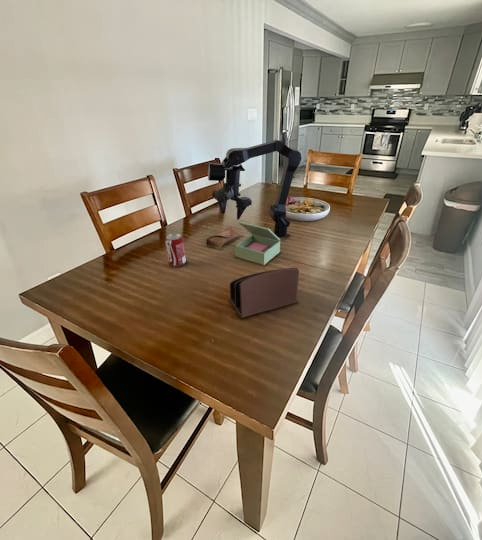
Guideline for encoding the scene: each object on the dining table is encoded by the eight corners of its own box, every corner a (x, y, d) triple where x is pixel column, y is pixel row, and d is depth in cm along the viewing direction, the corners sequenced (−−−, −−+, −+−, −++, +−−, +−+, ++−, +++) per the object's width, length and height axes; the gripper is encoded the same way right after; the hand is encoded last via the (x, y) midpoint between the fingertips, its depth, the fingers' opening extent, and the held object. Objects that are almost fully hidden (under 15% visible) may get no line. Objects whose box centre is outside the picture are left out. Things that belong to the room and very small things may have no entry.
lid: (267, 229, 111) (268, 228, 112) (237, 222, 118) (238, 221, 118) (280, 241, 124) (280, 239, 124) (252, 234, 130) (252, 232, 130)
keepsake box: (263, 266, 117) (264, 253, 114) (235, 257, 124) (235, 245, 121) (279, 253, 127) (280, 241, 124) (252, 245, 133) (252, 234, 131)
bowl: (336, 210, 173) (338, 197, 169) (317, 227, 151) (319, 212, 147) (289, 202, 187) (290, 190, 183) (266, 216, 165) (267, 203, 161)
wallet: (254, 246, 131) (254, 241, 130) (273, 252, 126) (274, 246, 125) (245, 252, 126) (245, 247, 125) (265, 258, 121) (265, 253, 120)
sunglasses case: (220, 249, 130) (213, 235, 128) (210, 253, 134) (204, 239, 133) (243, 235, 142) (237, 222, 141) (233, 239, 147) (227, 227, 146)
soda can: (189, 260, 122) (185, 234, 116) (180, 268, 116) (176, 241, 110) (174, 258, 124) (170, 232, 118) (166, 266, 118) (161, 238, 112)
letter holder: (297, 302, 97) (300, 265, 89) (241, 319, 90) (240, 280, 83) (282, 287, 104) (284, 252, 97) (230, 301, 98) (228, 264, 90)
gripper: (203, 178, 123) (202, 214, 131) (235, 188, 113) (233, 226, 121) (222, 175, 131) (220, 209, 139) (254, 185, 121) (250, 221, 128)
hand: (230, 216), depth 131 cm, fingers open, 9 cm apart
